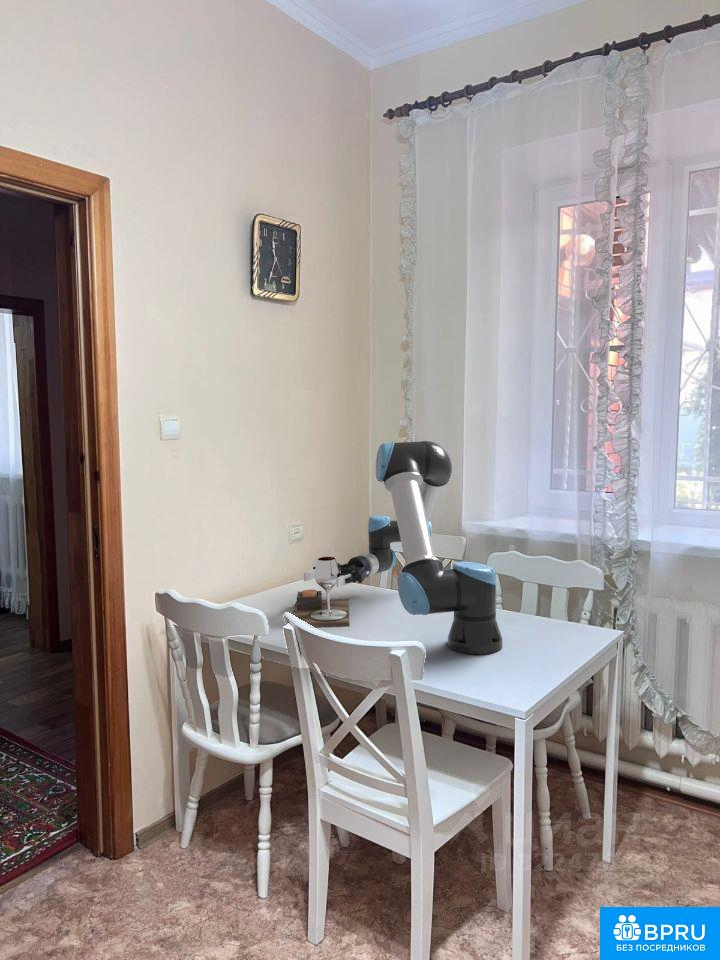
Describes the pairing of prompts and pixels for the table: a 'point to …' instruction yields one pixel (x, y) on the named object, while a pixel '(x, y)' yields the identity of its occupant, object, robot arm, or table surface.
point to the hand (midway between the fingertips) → (320, 579)
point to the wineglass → (327, 579)
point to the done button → (309, 593)
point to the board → (313, 606)
